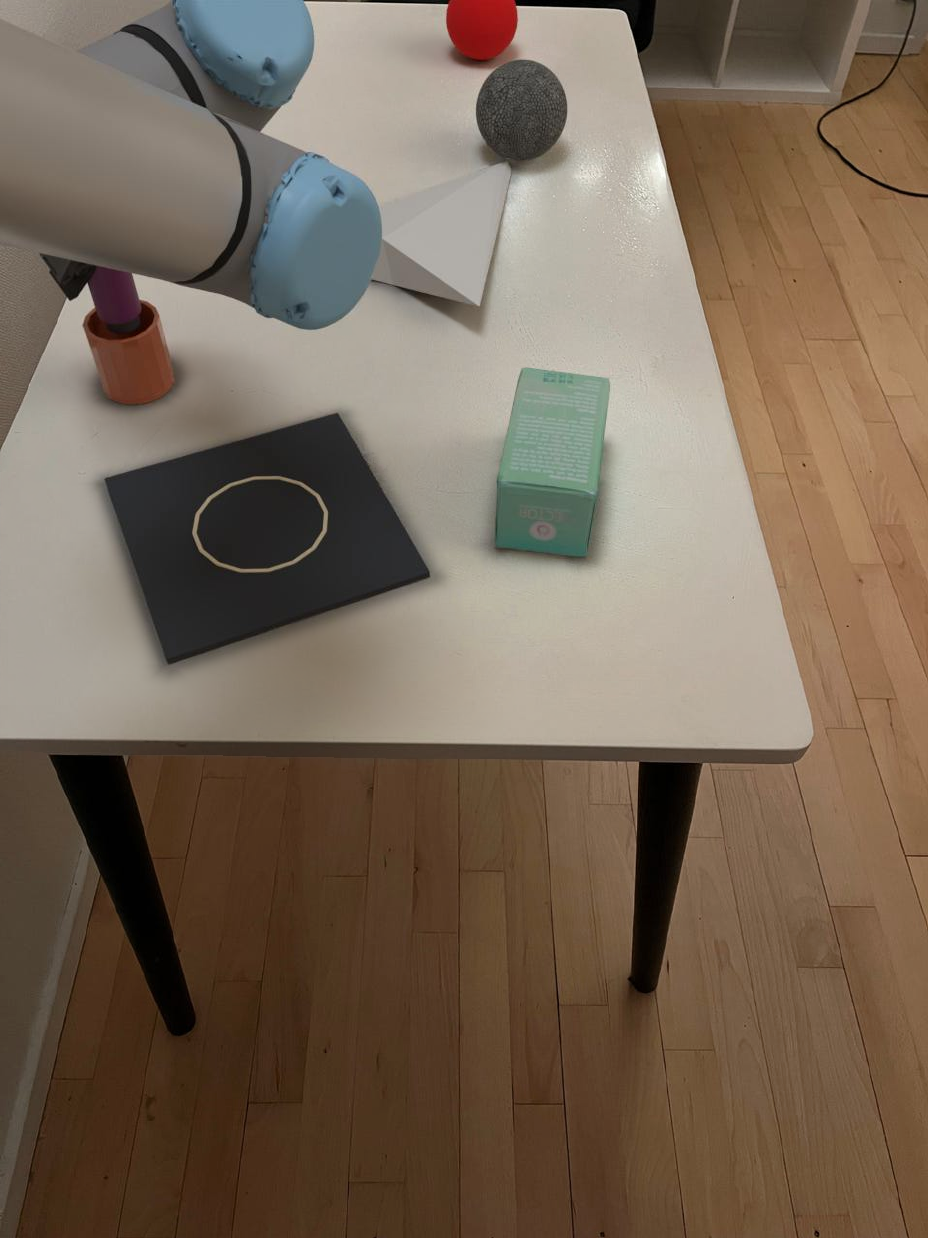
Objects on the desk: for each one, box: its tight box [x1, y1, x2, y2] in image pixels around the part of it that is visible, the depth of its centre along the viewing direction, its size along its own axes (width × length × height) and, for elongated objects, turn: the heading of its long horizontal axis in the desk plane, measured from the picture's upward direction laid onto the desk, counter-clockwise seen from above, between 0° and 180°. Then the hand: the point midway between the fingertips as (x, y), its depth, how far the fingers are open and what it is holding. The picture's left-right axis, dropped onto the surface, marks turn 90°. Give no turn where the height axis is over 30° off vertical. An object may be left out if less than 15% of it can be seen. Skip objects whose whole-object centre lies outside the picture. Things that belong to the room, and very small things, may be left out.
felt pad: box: [104, 412, 431, 664], centre depth 82 cm, size 20×20×1 cm
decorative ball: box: [475, 59, 568, 162], centre depth 116 cm, size 10×10×10 cm
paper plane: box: [371, 160, 513, 307], centre depth 108 cm, size 26×28×4 cm
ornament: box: [445, 0, 519, 61], centre depth 132 cm, size 9×9×10 cm
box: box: [494, 367, 611, 558], centre depth 82 cm, size 7×14×8 cm, turn 171°
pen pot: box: [82, 299, 175, 406], centre depth 91 cm, size 6×6×6 cm
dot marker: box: [87, 265, 142, 334], centre depth 85 cm, size 4×4×10 cm
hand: (84, 273), depth 88 cm, fingers closed on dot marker, 3 cm apart
